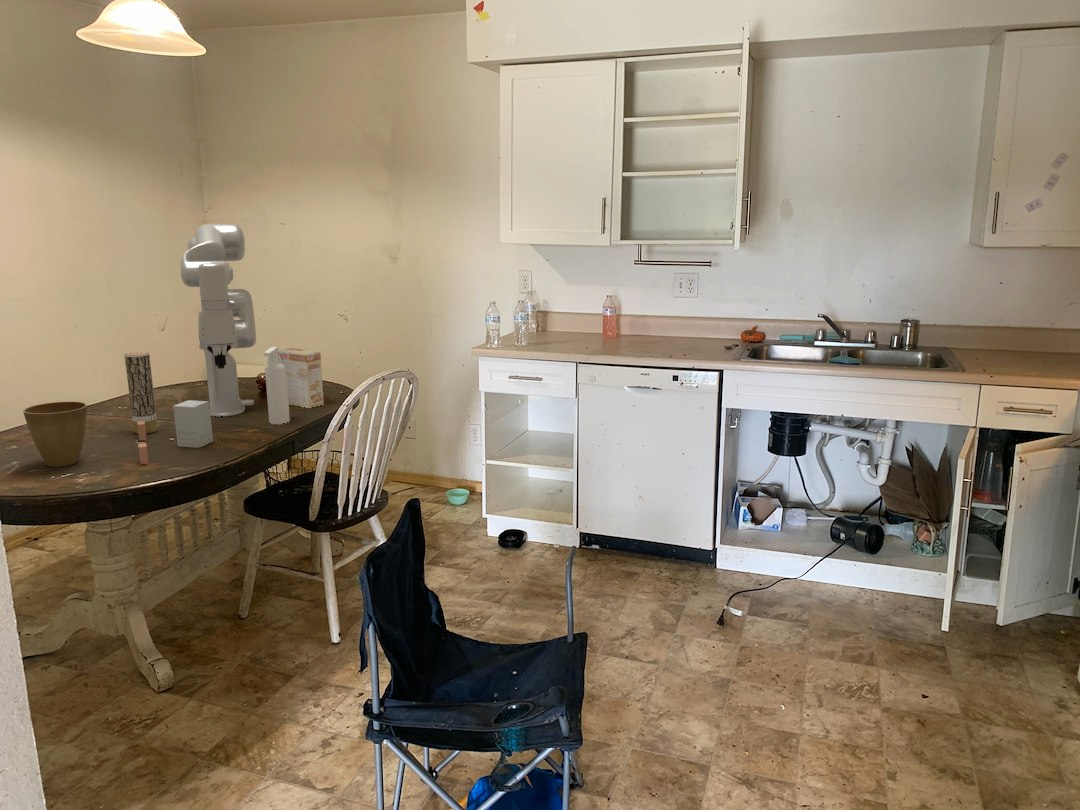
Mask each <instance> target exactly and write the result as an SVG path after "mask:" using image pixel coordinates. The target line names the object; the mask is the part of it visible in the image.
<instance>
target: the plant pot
mask: <svg viewBox="0 0 1080 810" xmlns="http://www.w3.org/2000/svg"><path fill="white" fill-rule="evenodd" d="M87 406H88V404H87V403H86V402H81V401H55V402H46V403H40V404H35V405H32V406H28V407H25V408H24V409H23V410H22V412H23V415H24V416H23V417H24V418H25V422H26V425H27V429H28V431H29V433H30V435H31V437H32V440H33V443H34V444H35V447H36V449H37V451H38V453H39V454H40V455H41V457H42V459H43V461H44V462H45V464H46V466H47V465H48V467H49V466H51V468H61V466H63V467H68V466H67V465H69V466H72V465H71V464H73V465H75V464H77V463H78V462H79V460H80V457H81V452H82V448H83V444H84V438H85V434H86V433H85V432H86V426H87V413H88V412H87V409H88V407H87ZM76 462H77V463H76ZM74 463H75V464H74Z"/></svg>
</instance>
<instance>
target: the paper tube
mask: <svg viewBox="0 0 1080 810" xmlns="http://www.w3.org/2000/svg"><path fill="white" fill-rule="evenodd" d="M124 361H125V370H126V377H127V378H126V379H127V388H128V395H129V402H130V403H129V404H130V412H131V419H132V427H133V432H134V433H135V434H137V435H139V434H138V425H137V422H139V421H145V429H146V435H148V434H153V433H155V432H157V430H159V429H158V422H157V411H156V401H155V393H154V383H153V377H152V367H151V357H150V352H149V351H131V352H125V353H124Z"/></svg>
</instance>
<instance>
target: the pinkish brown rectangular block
mask: <svg viewBox="0 0 1080 810" xmlns="http://www.w3.org/2000/svg"><path fill="white" fill-rule="evenodd" d="M137 425H138V434H137V435H138V440H139V442H140V441H141V440H142V441H147V434H146V429H145V421H139V422H137ZM137 447H138V448H137V449H138V453H139V454H138V455H139V464H140V466H142V465H141V464H145V465H149V464H148V463H149V456H148V454H149V453H148V448H147V447H148V445H147V442H141V443H137Z"/></svg>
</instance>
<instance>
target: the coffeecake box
mask: <svg viewBox="0 0 1080 810" xmlns="http://www.w3.org/2000/svg"><path fill="white" fill-rule="evenodd" d="M278 351H279V352H278V353H277V354H278V355H279V356H280V357H281V362H282V364H283V365H284V366H285V368H286V375H287V389H288V403H289V406H293V405H294V406H293V407H298V406H300V407H299V408H304V407H305V408H304V409H309V408H310V409H313V408H312V407H314V408H317V407H316V406H318V407H321V406H320V405H322V406H324V405H325V403H324V389H323V376H322V375H323V373H322V372H323V371H322V357H321V355H322V353H321V351H315V350H310V349H301V348H295V347H294V348H293V347H290V348H283V349H278ZM278 360H279V358H278Z"/></svg>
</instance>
